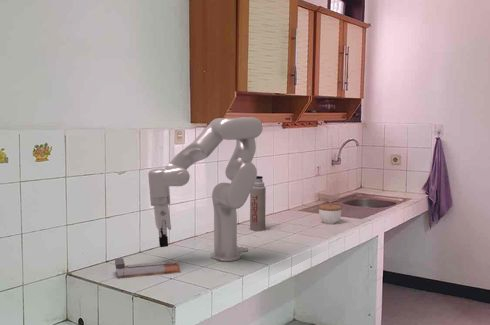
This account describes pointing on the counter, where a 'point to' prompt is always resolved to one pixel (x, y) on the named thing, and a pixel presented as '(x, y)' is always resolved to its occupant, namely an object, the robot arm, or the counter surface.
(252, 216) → the thermos bottle
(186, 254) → the counter surface
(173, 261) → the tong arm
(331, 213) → the lidded bowl
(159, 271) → the tongs fixed
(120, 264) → the tab
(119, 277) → the walnut board
